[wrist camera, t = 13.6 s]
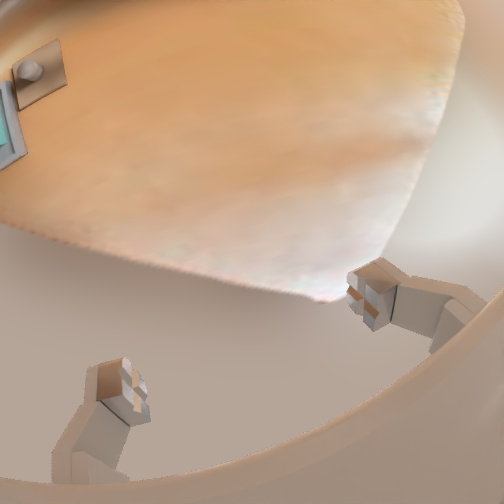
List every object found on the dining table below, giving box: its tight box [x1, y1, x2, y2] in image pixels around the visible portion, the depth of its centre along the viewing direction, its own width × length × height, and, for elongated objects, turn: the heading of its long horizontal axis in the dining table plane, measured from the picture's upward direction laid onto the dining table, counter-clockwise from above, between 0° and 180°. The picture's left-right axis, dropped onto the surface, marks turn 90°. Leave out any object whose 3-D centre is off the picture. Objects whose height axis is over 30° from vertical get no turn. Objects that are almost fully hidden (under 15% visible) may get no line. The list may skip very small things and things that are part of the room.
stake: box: [12, 39, 67, 110], centre depth 19 cm, size 7×7×5 cm
